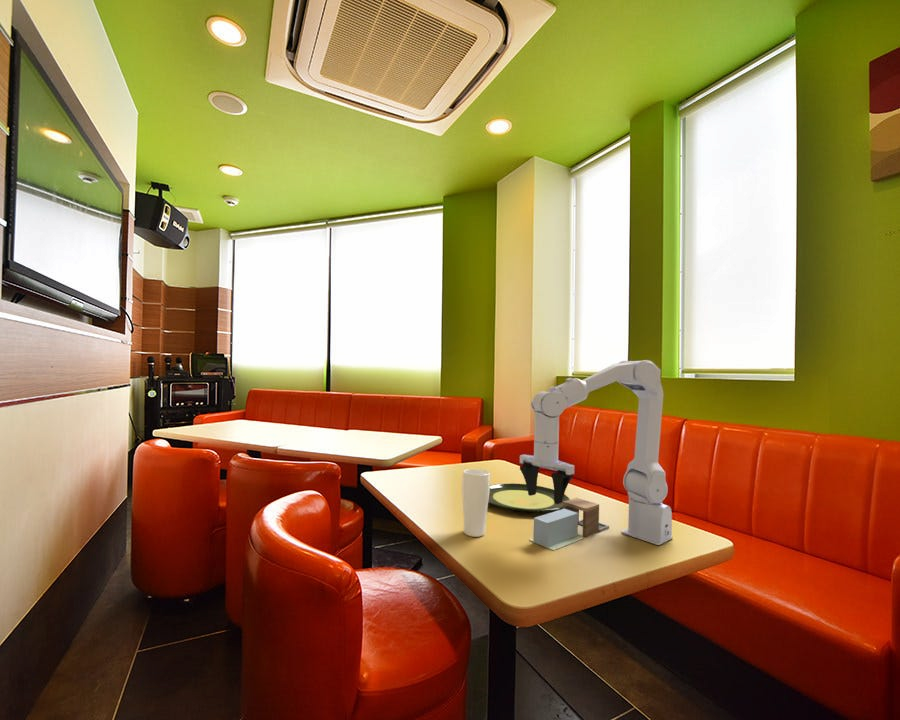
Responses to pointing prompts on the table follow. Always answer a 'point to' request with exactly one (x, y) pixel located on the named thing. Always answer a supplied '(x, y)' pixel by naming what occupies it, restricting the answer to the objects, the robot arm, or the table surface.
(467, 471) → the drinking glass
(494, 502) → the plate
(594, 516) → the tunnel
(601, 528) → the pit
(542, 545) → the pad
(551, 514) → the pale grey rectangular block
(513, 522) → the table surface
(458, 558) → the table surface
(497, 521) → the table surface
